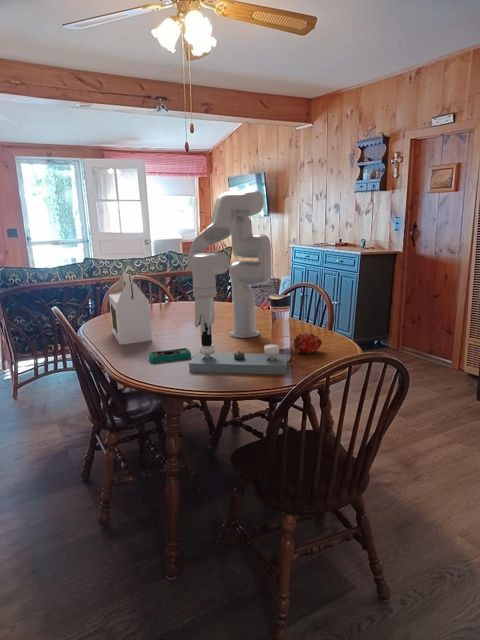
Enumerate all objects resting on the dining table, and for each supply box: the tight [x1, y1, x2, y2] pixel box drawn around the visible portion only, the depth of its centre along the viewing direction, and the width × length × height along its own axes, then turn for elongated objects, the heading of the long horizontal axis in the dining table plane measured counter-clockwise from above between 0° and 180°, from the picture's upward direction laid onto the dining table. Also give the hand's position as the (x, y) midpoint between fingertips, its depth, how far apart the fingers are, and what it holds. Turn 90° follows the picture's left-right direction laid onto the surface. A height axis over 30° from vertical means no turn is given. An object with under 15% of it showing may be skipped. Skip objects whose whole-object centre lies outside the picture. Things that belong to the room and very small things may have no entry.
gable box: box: [108, 270, 153, 346], centre depth 193 cm, size 22×13×28 cm, turn 23°
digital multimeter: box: [148, 347, 192, 364], centre depth 166 cm, size 7×15×3 cm, turn 108°
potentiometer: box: [233, 348, 245, 360], centre depth 153 cm, size 4×4×3 cm
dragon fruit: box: [293, 332, 323, 355], centre depth 167 cm, size 8×8×12 cm
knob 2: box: [263, 343, 280, 361], centre depth 152 cm, size 5×5×6 cm
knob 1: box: [199, 343, 216, 359], centre depth 155 cm, size 5×5×6 cm
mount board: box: [188, 352, 289, 375], centre depth 154 cm, size 12×32×3 cm, turn 82°
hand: (206, 345), depth 154 cm, fingers closed
